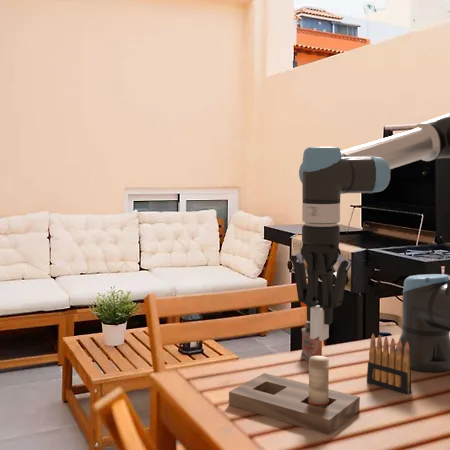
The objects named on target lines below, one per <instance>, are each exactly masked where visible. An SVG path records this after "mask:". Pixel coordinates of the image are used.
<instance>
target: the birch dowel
mask: <svg viewBox="0 0 450 450" xmlns="http://www.w3.org/2000/svg"><path fill="white" fill-rule="evenodd" d="M329 359H330V358H329V357H327V356H323V355H322V356H312V357H310V358H309V361H308V384H309V399H308V402H309V405H313V406H316V407H320V408H324V409H325V408H326V407H327V406H328V404H329V399H328V389H329V379H330V378H329V377H330V376H329V369H330V368H329V367H330V364H329V362H330V360H329Z"/></svg>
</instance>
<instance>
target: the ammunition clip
mask: <svg viewBox="0 0 450 450" xmlns="http://www.w3.org/2000/svg"><path fill="white" fill-rule="evenodd" d="M381 336H382V335H380V334H379V335H378V337H377V341H376V336H375V334H374V333H372V334H371V338H370V344H369V345H370V346H369V352H368V362H367V371H366V372H367V373H366V383H367V384H370V385H373V386H376V387H379V388H384V389H386V390H390V391H393V392H395V393H399V394H403V395H406V396H407V395H409V394H412V371H411V369H410V350H409V344H408V342H406V344H405V348H404V357H403V354H402V343H401V340H399V339H398V341H399V342H397V344H398V346H397V345H396V341H395V338H391V341H390V343H389V339H388V336H385V338H384V340H383V341H382V337H381ZM389 344H390V346H389ZM396 347H397V355H396V353H395V349H396Z"/></svg>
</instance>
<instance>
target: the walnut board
mask: <svg viewBox="0 0 450 450" xmlns="http://www.w3.org/2000/svg"><path fill="white" fill-rule="evenodd" d="M308 399H309V383H306V382H301V381H299V380H298V381H297V380H295V379H290V378H285V377H282V376H278V375H273V374H270V373H265V372H263V373H262V374H259V376H256V377H254V378H252V379H250V380H249V381H247V382H245V383H243V384H241V385H239V386H237V387H235V388H233V389H231V390H229V391H228V406H231V407H233V408H234V407H235V408H237V409H241V410H245V411H247V412H251V413H255V414H258V415H260V416H261V415H262V416H264V417H268V418H271V419H275V420H278V421H281V422H285V423H288V424H292V425H295V426H298V427H302V428H305V429H309V430H311V431H313V432H318V433H321V434H325V435H328V436H330V435H331V434H332V433H333V432H335V431H336V430H337V429H339V427H341V426H342V425H343V424H344V423H346V422H348V421H349V419H351V418H353V416H355V415H356V414H357V413H358V412H360V403H361V402H360V401H361V399H360V396H358V395H353V394H349V393H345V392H341V391H338V390H334V389H330V388H328V399H329V404H328V406H327V407H326V408H325V409H324V408H320V407H316V406H313V405H309V402H308Z"/></svg>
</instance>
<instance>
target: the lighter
mask: <svg viewBox="0 0 450 450" xmlns="http://www.w3.org/2000/svg"><path fill="white" fill-rule="evenodd" d="M301 336H302V337H301V341H302V342H301V353H300V354H301V356H300V357H302V358H303V359H304V360H305V361H307V362H309V358H310V357H312V356H323V352H322V351H323V341H320V340H319V337H317V338H315V339H310V321H307V320H306V321H305V327H302V328H301Z"/></svg>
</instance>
